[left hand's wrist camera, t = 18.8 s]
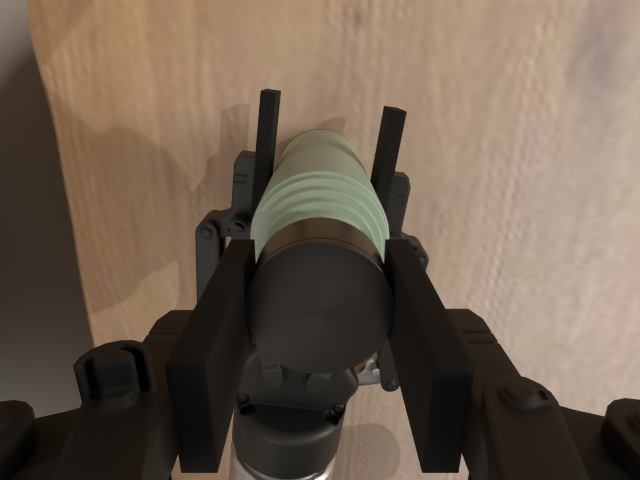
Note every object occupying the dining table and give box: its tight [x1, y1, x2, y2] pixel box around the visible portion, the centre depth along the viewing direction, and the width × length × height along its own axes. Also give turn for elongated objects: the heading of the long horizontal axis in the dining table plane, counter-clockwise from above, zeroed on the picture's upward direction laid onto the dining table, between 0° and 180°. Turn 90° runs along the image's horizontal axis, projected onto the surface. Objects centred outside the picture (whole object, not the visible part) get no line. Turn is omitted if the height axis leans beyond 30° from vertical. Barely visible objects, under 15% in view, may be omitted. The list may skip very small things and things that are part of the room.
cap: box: [245, 217, 395, 374], centre depth 13 cm, size 4×4×2 cm
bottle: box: [250, 130, 389, 263], centre depth 22 cm, size 6×6×19 cm
